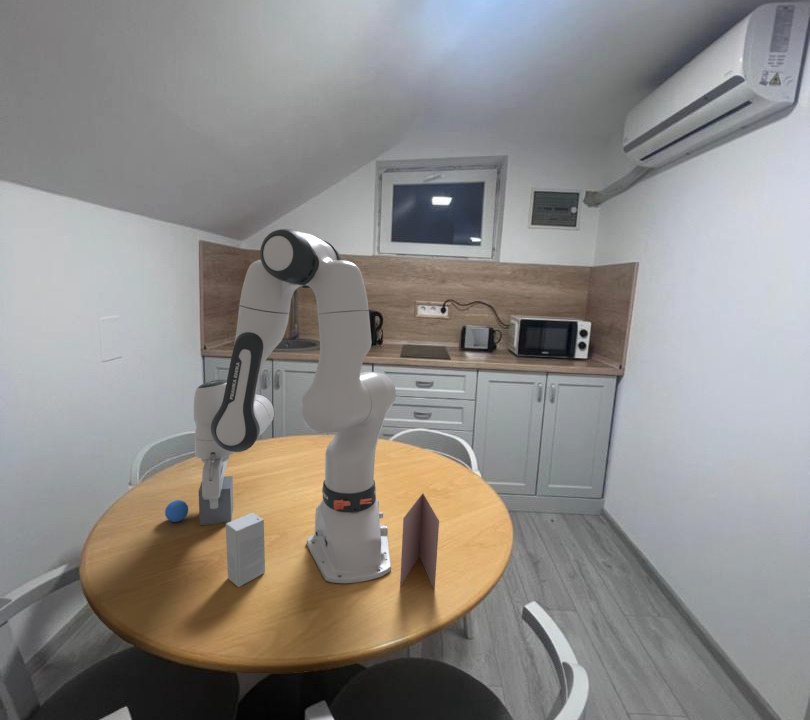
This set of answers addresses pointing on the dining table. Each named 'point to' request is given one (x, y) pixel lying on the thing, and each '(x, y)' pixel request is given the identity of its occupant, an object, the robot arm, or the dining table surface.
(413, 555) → the greeting card
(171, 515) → the ball
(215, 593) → the dining table surface
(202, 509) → the balanced grey cube
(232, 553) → the skincare box
